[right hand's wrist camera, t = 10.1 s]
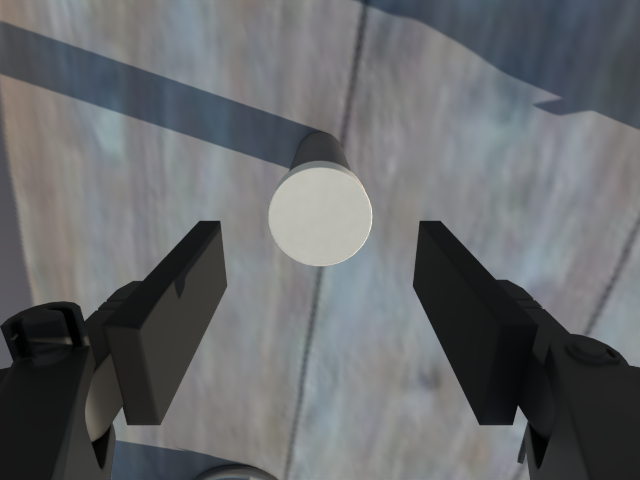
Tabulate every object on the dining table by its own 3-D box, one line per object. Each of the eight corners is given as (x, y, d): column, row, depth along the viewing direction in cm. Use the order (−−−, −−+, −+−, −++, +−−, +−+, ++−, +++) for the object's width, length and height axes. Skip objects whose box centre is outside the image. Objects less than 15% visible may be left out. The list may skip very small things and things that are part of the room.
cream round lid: (364, 155, 18) (369, 161, 17) (370, 247, 20) (374, 261, 19) (264, 166, 19) (259, 173, 17) (279, 256, 21) (276, 270, 19)
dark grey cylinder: (340, 129, 35) (361, 166, 17) (344, 175, 37) (367, 253, 19) (294, 134, 36) (268, 176, 18) (300, 179, 37) (281, 261, 19)
